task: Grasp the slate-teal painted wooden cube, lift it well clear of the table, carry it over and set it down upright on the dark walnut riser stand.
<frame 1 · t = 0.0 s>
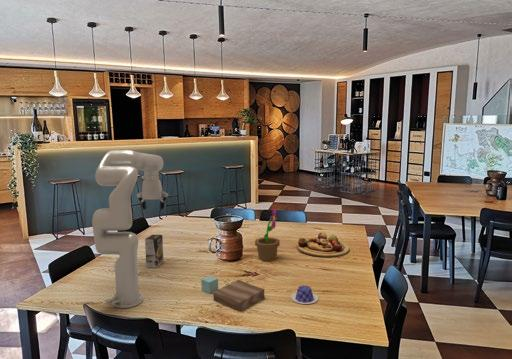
hand: (153, 209, 206), 31 cm above the table, tool pointing down, fingers open, 9 cm apart
wooden plate with food: (322, 249, 232), on the table
pudding: (304, 299, 168), on the table
coffee box: (155, 265, 209), on the table
walnut riser: (239, 298, 168), on the table
flowerpot: (267, 258, 217), on the table
teal cube: (209, 290, 177), on the table
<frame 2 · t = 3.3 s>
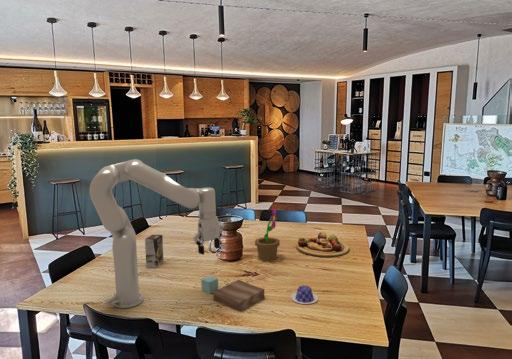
hand: (209, 250, 175), 19 cm above the table, tool pointing down, fingers open, 9 cm apart
nothing on the table moved.
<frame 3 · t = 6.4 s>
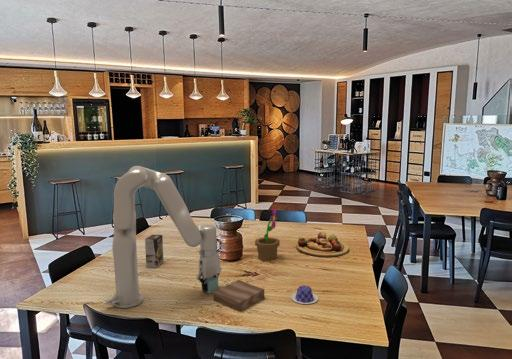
hand: (209, 288, 177), 1 cm above the table, tool pointing down, fingers closed on teal cube, 5 cm apart
teal cube: (209, 289, 177), on the table, touching gripper
everything else where it was.
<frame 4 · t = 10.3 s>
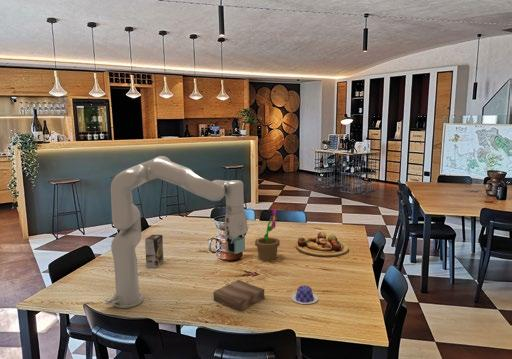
hand: (236, 249, 165), 23 cm above the table, tool pointing down, fingers closed on teal cube, 5 cm apart
teal cube: (236, 250, 165), point 22 cm above the table, touching gripper
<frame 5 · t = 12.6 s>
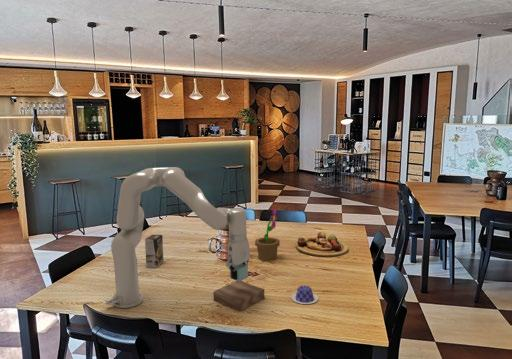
hand: (239, 276, 166), 11 cm above the table, tool pointing down, fingers closed on teal cube, 5 cm apart
teal cube: (239, 277, 166), point 10 cm above the table, touching gripper
when the fingers open (6 cm above the table, at t = 14.4 s): teal cube drops 1 cm, resting on walnut riser.
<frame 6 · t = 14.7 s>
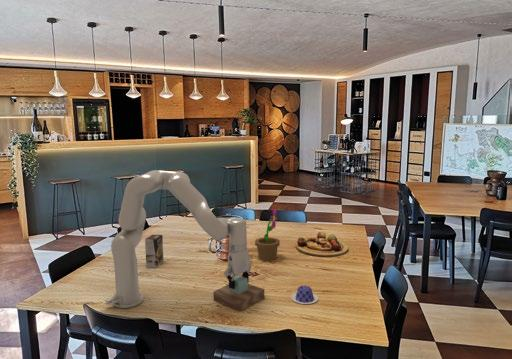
hand: (238, 284, 167), 7 cm above the table, tool pointing down, fingers open, 8 cm apart
teal cube: (238, 290, 167), point 4 cm above the table, touching walnut riser
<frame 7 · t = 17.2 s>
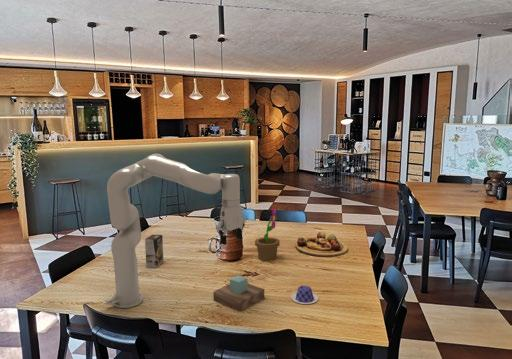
hand: (231, 241, 164), 26 cm above the table, tool pointing down, fingers open, 9 cm apart
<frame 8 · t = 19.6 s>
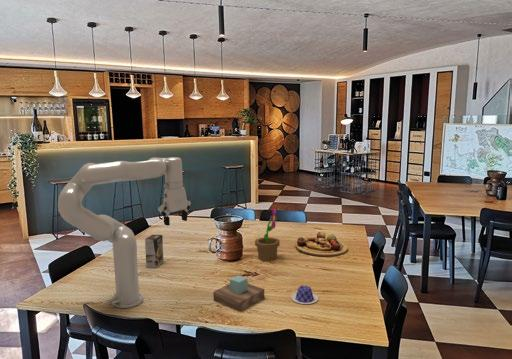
hand: (175, 222, 170), 33 cm above the table, tool pointing down, fingers open, 9 cm apart
at the end: teal cube inside the target area on the walnut riser (0.1 cm from its centre), point 4.0 cm above the walnut riser's base; teal cube tilted 0°; the gripper is holding nothing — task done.
